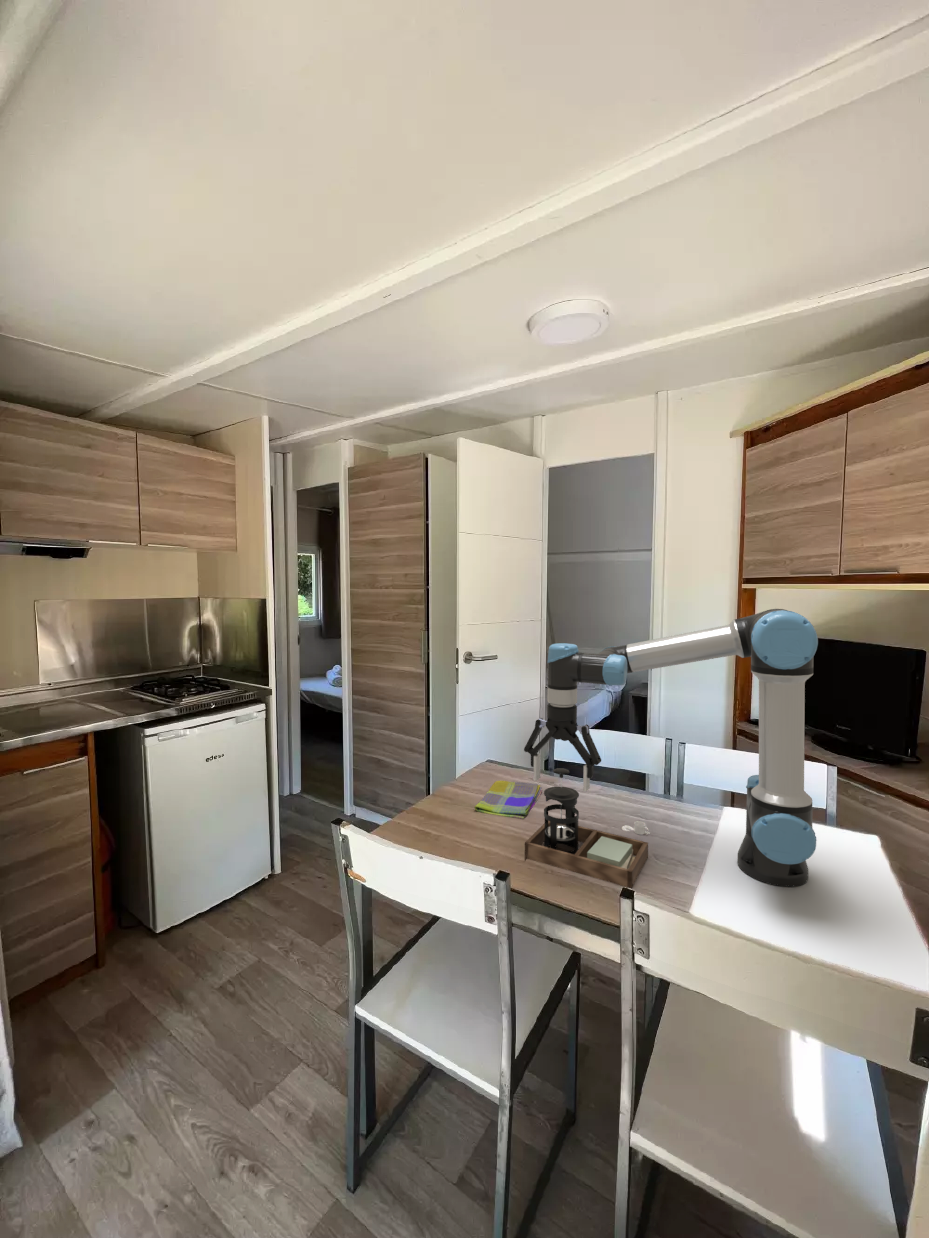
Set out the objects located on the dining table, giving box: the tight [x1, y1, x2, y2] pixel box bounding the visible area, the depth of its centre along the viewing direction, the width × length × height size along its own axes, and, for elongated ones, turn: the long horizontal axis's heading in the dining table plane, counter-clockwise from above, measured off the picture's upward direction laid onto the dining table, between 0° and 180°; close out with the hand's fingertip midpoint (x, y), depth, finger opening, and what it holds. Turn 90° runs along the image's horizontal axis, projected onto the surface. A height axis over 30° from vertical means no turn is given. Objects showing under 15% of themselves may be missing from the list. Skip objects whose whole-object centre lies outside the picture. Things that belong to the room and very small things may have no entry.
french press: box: [543, 767, 580, 855], centre depth 138 cm, size 12×9×23 cm
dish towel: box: [474, 780, 543, 820], centre depth 174 cm, size 18×24×3 cm
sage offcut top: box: [587, 836, 632, 867], centre depth 132 cm, size 8×10×2 cm
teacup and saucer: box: [621, 820, 651, 836], centre depth 149 cm, size 9×8×4 cm
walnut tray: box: [524, 821, 649, 889], centre depth 135 cm, size 27×16×5 cm, turn 58°
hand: (561, 784), depth 138 cm, fingers open, 13 cm apart
